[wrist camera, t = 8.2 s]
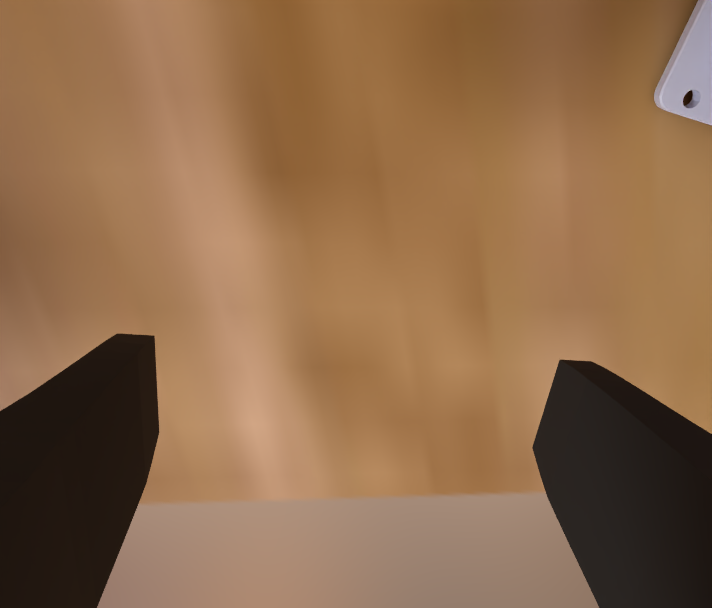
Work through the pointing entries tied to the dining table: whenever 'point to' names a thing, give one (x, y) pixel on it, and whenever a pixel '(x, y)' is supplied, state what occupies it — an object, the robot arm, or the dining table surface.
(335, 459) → the dining table surface
